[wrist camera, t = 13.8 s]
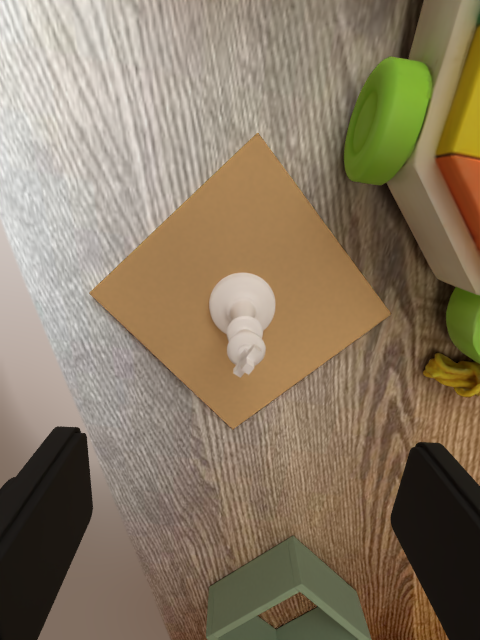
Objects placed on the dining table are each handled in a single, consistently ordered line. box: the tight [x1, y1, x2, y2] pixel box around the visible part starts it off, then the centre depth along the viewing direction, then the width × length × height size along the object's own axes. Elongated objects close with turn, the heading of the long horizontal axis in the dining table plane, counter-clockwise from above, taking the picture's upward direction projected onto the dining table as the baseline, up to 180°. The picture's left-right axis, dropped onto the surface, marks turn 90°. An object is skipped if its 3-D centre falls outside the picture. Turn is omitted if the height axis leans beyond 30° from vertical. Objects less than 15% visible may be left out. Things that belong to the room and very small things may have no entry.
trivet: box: [89, 133, 391, 429], centre depth 25 cm, size 16×16×1 cm
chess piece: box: [209, 273, 275, 378], centre depth 20 cm, size 5×5×10 cm
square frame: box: [206, 536, 371, 640], centre depth 34 cm, size 12×12×4 cm
